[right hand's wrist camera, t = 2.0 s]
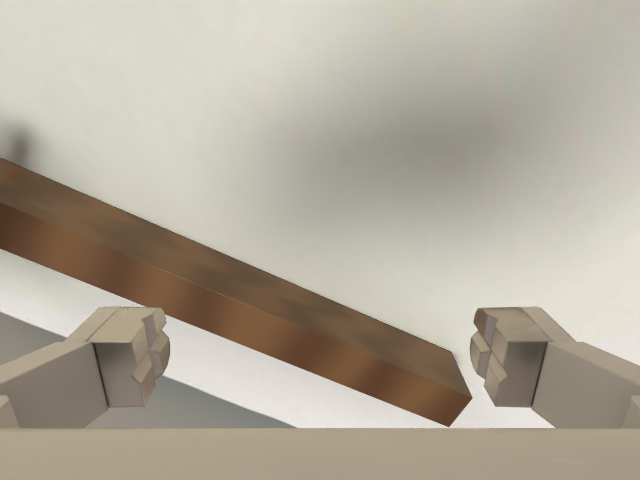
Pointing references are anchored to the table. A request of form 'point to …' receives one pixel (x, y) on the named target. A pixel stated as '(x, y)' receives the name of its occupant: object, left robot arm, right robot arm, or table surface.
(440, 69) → the table surface
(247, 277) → the beam
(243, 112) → the table surface
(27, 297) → the table surface
